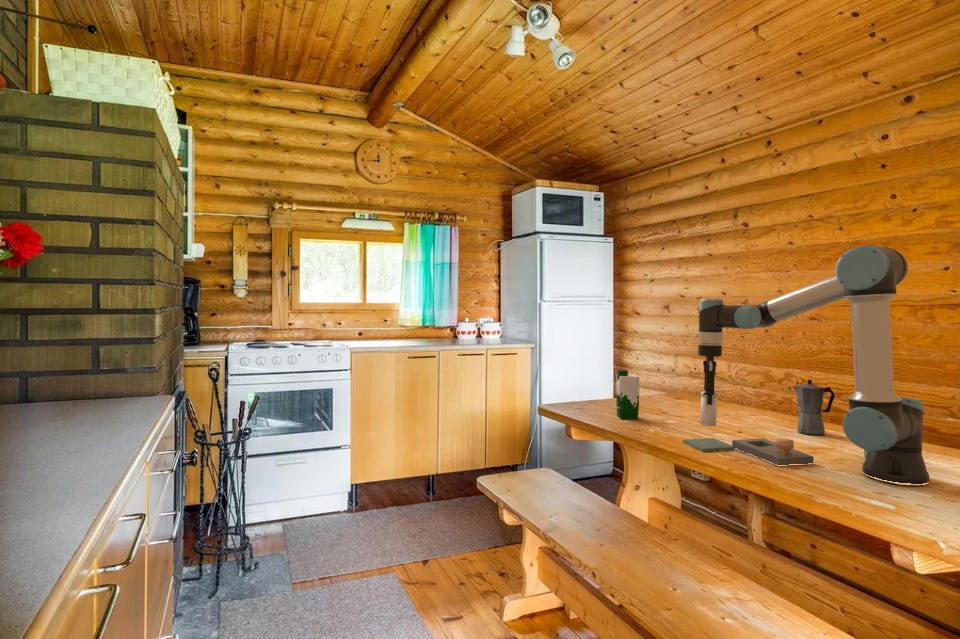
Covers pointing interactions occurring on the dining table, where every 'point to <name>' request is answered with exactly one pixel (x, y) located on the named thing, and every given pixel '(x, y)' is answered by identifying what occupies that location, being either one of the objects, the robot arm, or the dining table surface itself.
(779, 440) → the brown mushroom
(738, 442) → the housing
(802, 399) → the moka pot
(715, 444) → the mat
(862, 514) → the dining table surface
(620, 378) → the milk carton
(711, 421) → the cylinder
